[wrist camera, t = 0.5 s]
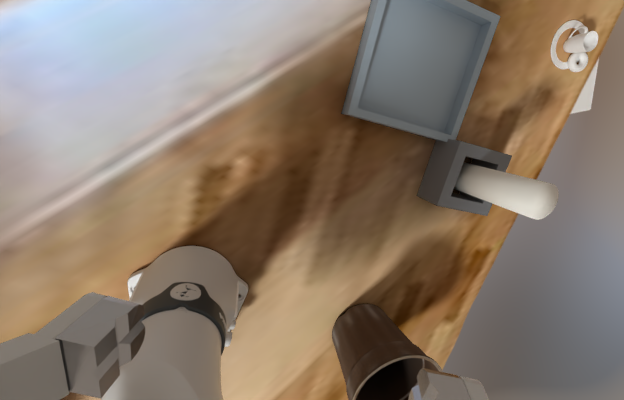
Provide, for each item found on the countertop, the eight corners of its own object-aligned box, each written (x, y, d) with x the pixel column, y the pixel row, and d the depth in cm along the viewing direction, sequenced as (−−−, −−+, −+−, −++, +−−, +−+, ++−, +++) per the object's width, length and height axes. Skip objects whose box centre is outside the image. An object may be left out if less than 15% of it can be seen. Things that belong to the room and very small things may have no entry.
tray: (442, 142, 53) (454, 143, 50) (341, 113, 47) (347, 114, 44) (485, 21, 48) (500, 16, 45) (378, -27, 42) (388, -36, 40)
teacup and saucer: (579, 71, 56) (604, 68, 52) (545, 76, 54) (568, 74, 51) (587, 18, 53) (614, 11, 49) (551, 23, 52) (575, 16, 48)
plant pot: (396, 286, 60) (449, 345, 45) (395, 348, 65) (441, 420, 50) (320, 302, 57) (349, 372, 42) (324, 366, 62) (352, 449, 47)
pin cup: (463, 205, 58) (487, 215, 53) (416, 195, 55) (436, 205, 49) (484, 150, 56) (512, 155, 50) (436, 137, 52) (460, 140, 47)
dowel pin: (456, 188, 57) (548, 222, 40) (435, 183, 55) (520, 216, 38) (466, 162, 55) (564, 187, 39) (444, 157, 54) (537, 179, 37)
